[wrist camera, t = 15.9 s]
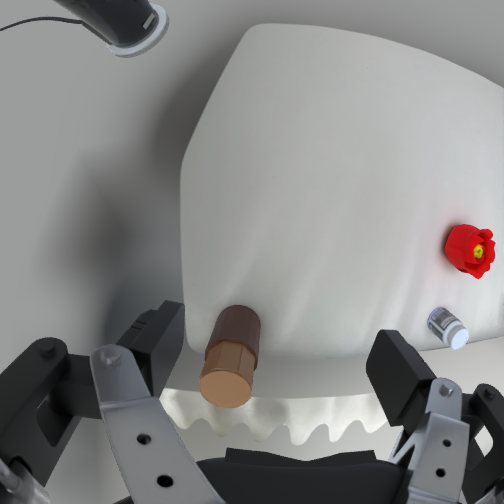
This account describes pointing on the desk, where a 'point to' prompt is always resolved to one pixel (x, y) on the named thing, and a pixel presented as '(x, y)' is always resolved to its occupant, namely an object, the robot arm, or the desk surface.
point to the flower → (470, 249)
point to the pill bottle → (448, 328)
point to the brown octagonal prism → (227, 375)
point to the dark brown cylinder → (237, 329)
